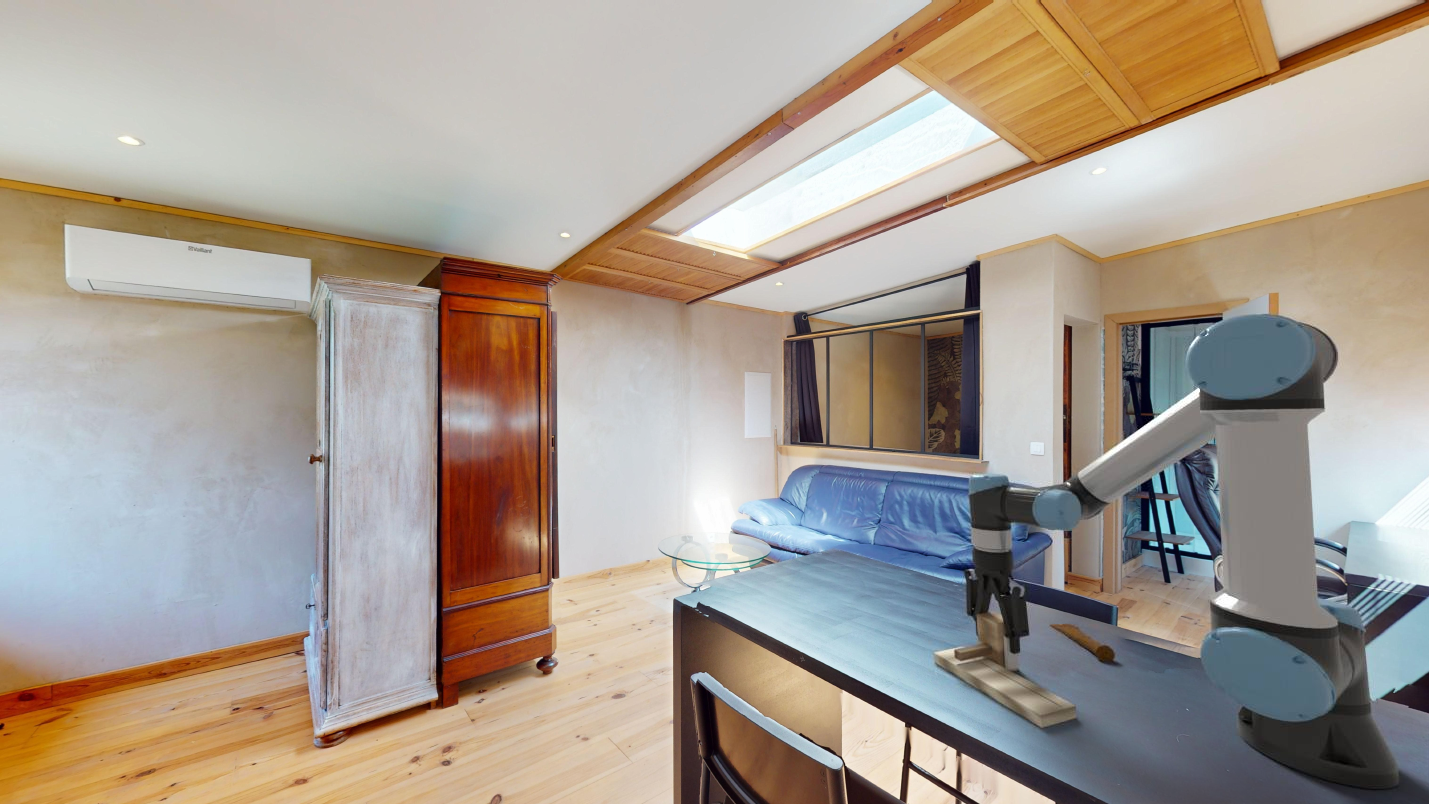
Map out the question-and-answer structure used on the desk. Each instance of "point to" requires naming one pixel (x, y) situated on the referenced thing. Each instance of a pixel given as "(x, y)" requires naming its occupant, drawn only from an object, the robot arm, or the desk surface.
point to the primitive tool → (1086, 641)
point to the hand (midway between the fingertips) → (998, 660)
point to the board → (1009, 689)
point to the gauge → (987, 640)
